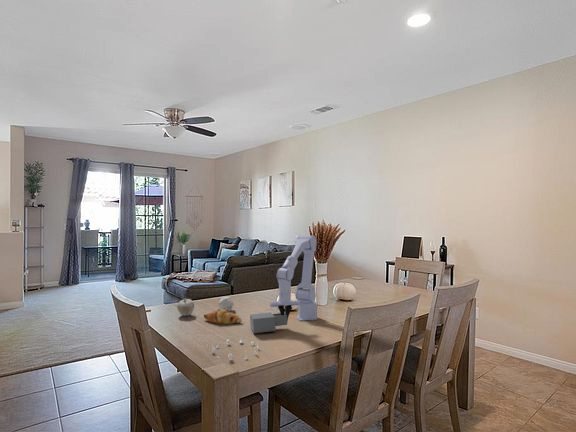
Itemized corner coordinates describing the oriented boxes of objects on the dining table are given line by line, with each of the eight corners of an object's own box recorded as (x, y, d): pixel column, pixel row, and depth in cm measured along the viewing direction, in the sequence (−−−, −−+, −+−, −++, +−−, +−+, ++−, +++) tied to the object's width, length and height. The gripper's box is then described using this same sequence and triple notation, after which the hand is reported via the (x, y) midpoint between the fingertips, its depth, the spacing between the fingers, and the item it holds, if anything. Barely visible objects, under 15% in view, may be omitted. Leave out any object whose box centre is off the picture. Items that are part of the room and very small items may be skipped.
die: (226, 314, 193) (236, 299, 196) (213, 306, 195) (223, 291, 198) (228, 316, 201) (237, 301, 204) (216, 308, 202) (225, 293, 205)
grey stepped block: (283, 324, 172) (282, 311, 173) (288, 329, 162) (288, 315, 163) (250, 327, 168) (250, 314, 169) (253, 333, 158) (253, 319, 159)
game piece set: (245, 366, 127) (245, 355, 127) (200, 357, 135) (200, 347, 135) (268, 347, 145) (269, 338, 145) (228, 340, 153) (228, 332, 153)
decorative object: (192, 312, 195) (192, 295, 195) (195, 316, 187) (195, 298, 187) (176, 314, 191) (176, 296, 191) (178, 319, 183) (178, 300, 183)
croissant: (243, 328, 179) (246, 313, 182) (237, 324, 170) (240, 308, 174) (206, 324, 184) (209, 309, 187) (197, 320, 175) (201, 304, 179)
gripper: (271, 295, 162) (271, 324, 162) (301, 293, 165) (301, 322, 165) (268, 292, 169) (268, 320, 169) (297, 290, 172) (297, 318, 172)
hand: (284, 321), depth 168 cm, fingers closed on grey stepped block
